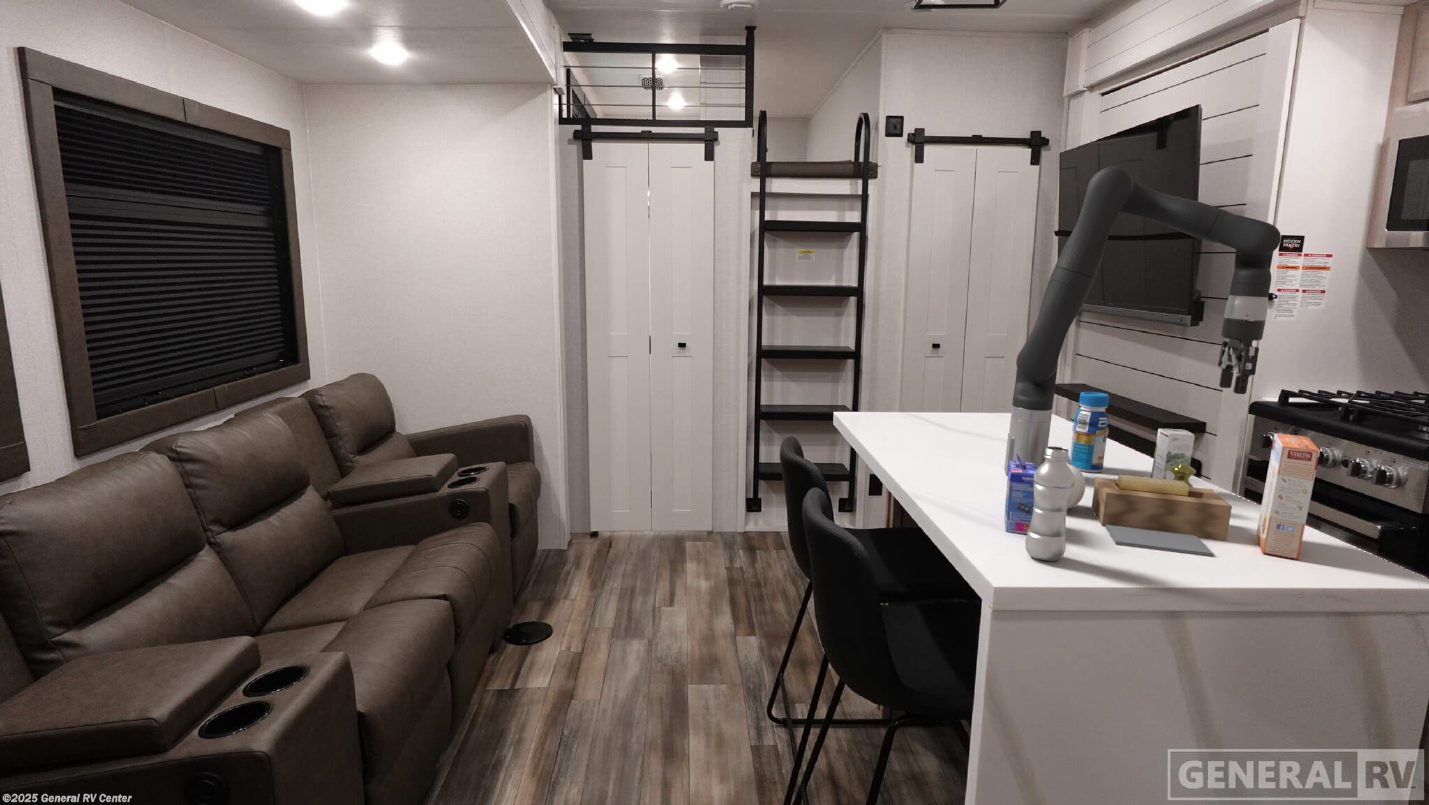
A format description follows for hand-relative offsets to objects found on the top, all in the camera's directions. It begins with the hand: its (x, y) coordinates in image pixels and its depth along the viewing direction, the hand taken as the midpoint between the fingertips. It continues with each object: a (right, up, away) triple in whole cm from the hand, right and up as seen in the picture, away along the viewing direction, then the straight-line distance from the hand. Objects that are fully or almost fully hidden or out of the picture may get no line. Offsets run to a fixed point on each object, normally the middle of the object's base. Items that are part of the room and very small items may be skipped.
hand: (1231, 390), depth 168 cm
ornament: (-41, -26, -4) cm, 48 cm away
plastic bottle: (-56, -30, -33) cm, 72 cm away
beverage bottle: (-18, -20, +30) cm, 41 cm away
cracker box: (-7, -30, -23) cm, 39 cm away
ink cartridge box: (-54, -28, -16) cm, 63 cm away
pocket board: (-24, -28, -12) cm, 38 cm away
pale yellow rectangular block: (-25, -24, -12) cm, 37 cm away
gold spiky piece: (-13, -26, -1) cm, 29 cm away
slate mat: (-30, -29, -23) cm, 47 cm away
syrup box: (-6, -24, +14) cm, 28 cm away
